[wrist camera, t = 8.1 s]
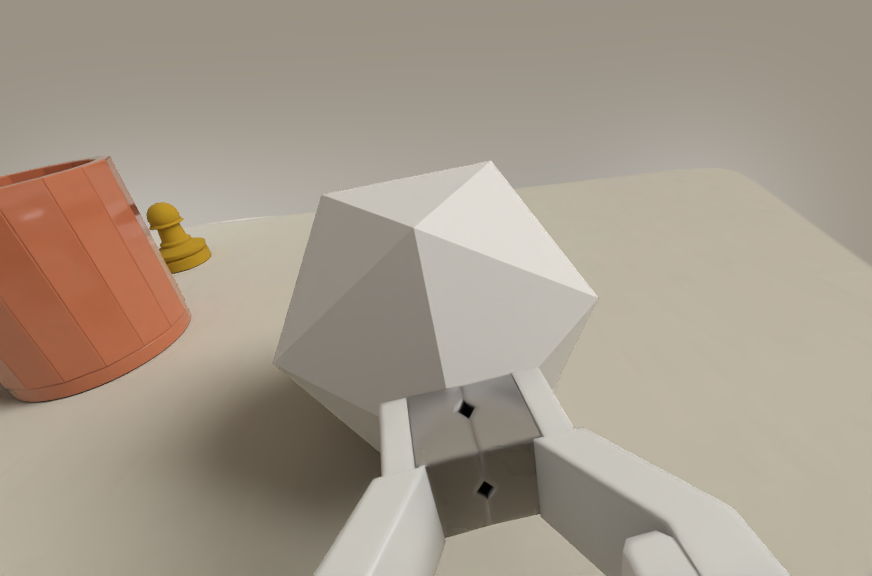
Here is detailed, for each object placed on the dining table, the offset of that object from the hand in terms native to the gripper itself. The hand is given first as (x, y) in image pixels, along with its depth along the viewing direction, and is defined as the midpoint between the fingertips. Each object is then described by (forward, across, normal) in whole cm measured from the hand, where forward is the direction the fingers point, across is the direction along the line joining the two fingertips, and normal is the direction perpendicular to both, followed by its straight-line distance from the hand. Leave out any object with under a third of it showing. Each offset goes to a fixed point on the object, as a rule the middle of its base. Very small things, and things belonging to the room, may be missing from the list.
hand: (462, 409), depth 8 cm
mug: (+16, -20, -5) cm, 26 cm away
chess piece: (+29, -18, -5) cm, 34 cm away
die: (+6, 0, -5) cm, 8 cm away
